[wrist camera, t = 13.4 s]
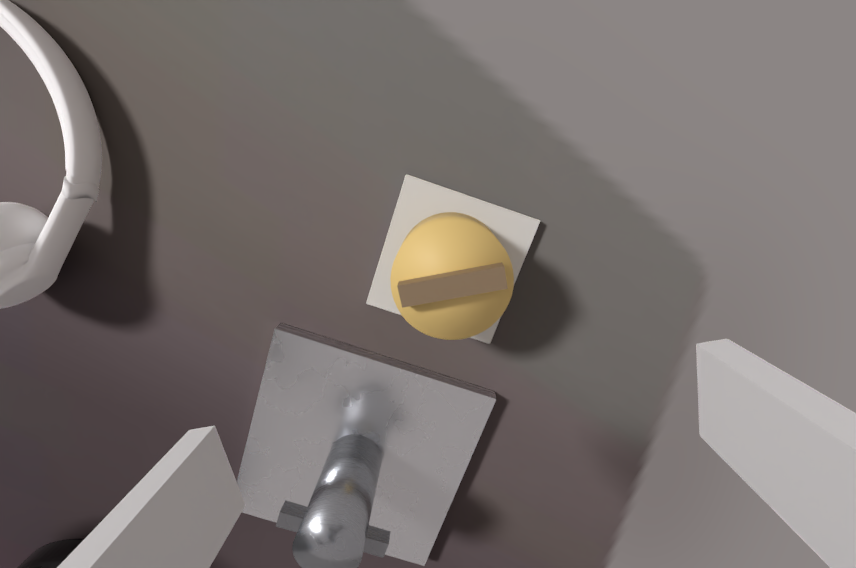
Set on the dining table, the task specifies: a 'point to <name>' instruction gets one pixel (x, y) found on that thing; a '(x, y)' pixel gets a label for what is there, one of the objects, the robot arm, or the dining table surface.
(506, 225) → the mat
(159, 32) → the dining table surface
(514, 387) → the dining table surface
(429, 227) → the cap
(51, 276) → the headphones
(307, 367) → the post fixture
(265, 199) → the dining table surface
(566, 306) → the dining table surface
